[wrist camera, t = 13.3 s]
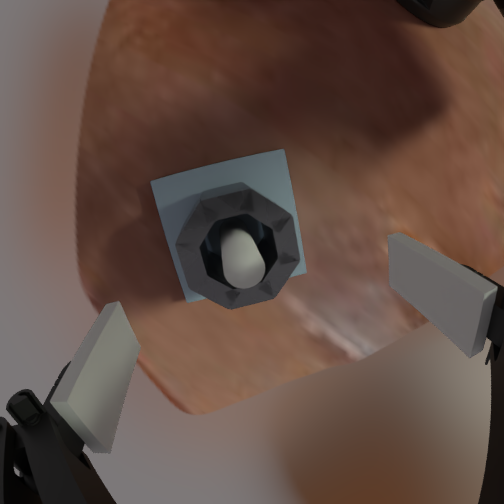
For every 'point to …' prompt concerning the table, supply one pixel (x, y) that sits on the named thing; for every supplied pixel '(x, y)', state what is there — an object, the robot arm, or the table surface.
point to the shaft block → (233, 228)
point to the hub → (210, 264)
